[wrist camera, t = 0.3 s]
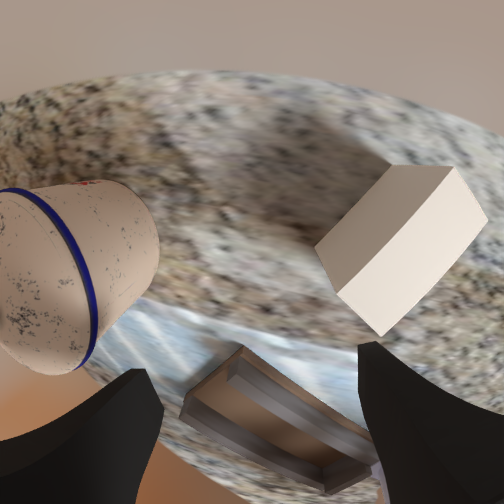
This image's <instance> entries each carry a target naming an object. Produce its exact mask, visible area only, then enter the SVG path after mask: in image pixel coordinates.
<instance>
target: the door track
mask: <svg viewBox="0 0 504 504" xmlns="http://www.w3.org/2000/svg"><path fill="white" fill-rule="evenodd" d="M183 402H184V404H183V407H182V410H181V413H180V415H179V419H180V420H182V421H183V422H185V423H186V424H188V425H189V426H191V427H193V428H194V429H196V430H197V431H199V432H201V433H202V434H204V435H206V436H207V437H209V438H211V439H212V440H214V441H216V442H218V443H219V444H221V445H223V446H225V447H227V448H228V449H230V450H232V451H234V452H236V453H238V454H240V455H242V456H244V457H245V458H247V459H249V460H251V461H253V462H255V463H258V464H260V465H262V466H264V467H266V468H268V469H270V470H272V471H275V472H277V473H279V474H281V475H284V476H286V477H288V478H291V479H293V480H295V481H298V482H300V483H303V484H305V485H308V486H311V487H313V488H316V489H319V490H321V491H323V490H325V493H327V494H330V495H333V494H335V493H337V492H339V491H341V490H344V489H346V488H348V487H350V486H352V485H354V484H356V483H358V482H360V481H361V480H363V479H365V478H367V477H369V476H371V475H373V474H372V470H371V466H372V465H373V464H375V463H377V462H379V461H380V460H379V457H378V454H377V451H376V448H375V446H374V443H373V440H372V437H371V435H370V432H368V431H367V430H365V429H363V428H362V427H360V426H359V425H357V424H355V423H354V422H352V421H351V420H349V419H347V418H346V417H344V416H343V415H341V414H340V413H338V412H337V411H335V410H334V409H332V408H331V407H329V406H328V405H326V404H325V403H323V402H322V401H320V400H319V399H317V398H316V397H314V396H313V395H311V394H310V393H308V392H307V391H306V390H304V389H303V388H301V387H300V386H298V385H297V384H296V383H294V382H293V381H291V380H290V379H289V378H287V377H286V376H284V375H283V374H282V373H280V372H279V371H278V370H276V369H275V368H273V367H272V366H271V365H269V364H268V363H267V362H265V361H264V360H263V359H261V358H260V357H259V356H257V355H256V354H255V353H253V352H252V351H251V350H249V349H248V348H247V347H246V346H243V347H241V348H240V349H239V350H238V351H237V352H236V353H235V354H233V355H232V356H231V357H230V358H229V359H228V360H226V361H225V362H224V363H223V364H222V365H221V366H219V367H218V368H217V369H216V370H215V371H213V372H212V373H211V374H210V375H209V376H207V377H206V378H205V379H204V380H203V381H201V382H200V383H199V384H198V385H197V386H195V387H194V388H193V389H192V390H190V391H189V392H188V393H187V394H186V396H185V398H184V401H183Z"/></svg>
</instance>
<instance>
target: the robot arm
mask: <svg viewBox="0 0 504 504" xmlns="http://www.w3.org/2000/svg"><path fill="white" fill-rule="evenodd" d="M358 394H359V398H360V402H361V407H362V411H363V415H364V418H365V421H366V424H367V427H368V429H369V432H370V435H371V437H372V440H373V443H374V446H375V448H376V451H377V454H378V457H379V460H380V461H379V462H377V463H375V464H373V465H372V466H371V470H372V474H373V475H371V476H370V477H372V478H375V479H377V480H380V484H381V488H382V492H383V496H384V500H385V504H504V415H501V414H497V413H494V412H492V411H489V410H486V409H483V408H480V407H478V406H475V405H473V404H470V403H468V402H466V401H464V400H462V399H460V398H458V397H456V396H454V395H452V394H450V393H448V392H446V391H444V390H443V389H441V388H439V387H438V386H436V385H434V384H433V383H431V382H429V381H428V380H426V379H425V378H423V377H422V376H420V375H419V374H418V373H416V372H415V371H414V370H412V369H411V368H409V367H408V366H407V365H405V364H404V363H403V362H402V361H400V360H399V359H398V358H396V357H395V356H394V355H393V354H391V353H390V352H389V351H388V350H387V349H385V348H384V347H383V346H382V345H380V344H379V343H378V342H376V341H374V342H369V343H365V344H360V345H358ZM164 410H165V409H164V407H163V405H162V403H161V401H160V399H159V397H158V395H157V393H156V391H155V389H154V387H153V385H152V383H151V380H150V378H149V376H148V374H147V372H146V369H130V370H128V371H126V372H125V373H123V374H122V375H120V376H119V377H117V378H116V379H115V380H113V381H112V382H111V383H109V384H108V385H106V386H105V387H104V388H102V389H101V390H100V391H98V392H97V393H95V394H94V395H93V396H91V397H90V398H89V399H87V400H86V401H84V402H83V403H81V404H80V405H78V406H77V407H75V408H74V409H72V410H71V411H69V412H68V413H66V414H64V415H63V416H61V417H59V418H58V419H56V420H54V421H52V422H50V423H48V424H46V425H44V426H42V427H40V428H37V429H35V430H33V431H30V432H28V433H25V434H23V435H20V436H17V437H14V438H11V439H7V440H3V441H0V504H135V502H136V497H137V493H138V489H139V485H140V482H141V479H142V476H143V474H144V471H145V469H146V466H147V464H148V461H149V458H150V456H151V453H152V451H153V448H154V446H155V443H156V441H157V438H158V435H159V432H160V428H161V424H162V420H163V415H164Z"/></svg>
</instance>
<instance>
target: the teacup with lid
mask: <svg viewBox="0 0 504 504" xmlns="http://www.w3.org/2000/svg"><path fill="white" fill-rule="evenodd" d="M159 255H160V247H159V238H158V233H157V229H156V226H155V223H154V220H153V218H152V216H151V214H150V212H149V210H148V209H147V207H146V206H145V204H144V203H143V202H142V200H141V199H140V198H139V197H138V196H137V195H136V194H135V193H134V192H132V191H131V190H130V189H128V188H127V187H125V186H124V185H122V184H120V183H117V182H114V181H110V180H104V179H97V180H89V181H81V182H74V183H67V184H60V185H54V186H48V187H42V188H36V189H30V190H24V189H20V188H7V189H3V190H0V345H1V347H2V348H3V349H4V350H5V351H6V352H7V353H8V354H9V355H10V356H11V357H12V358H14V359H15V360H16V361H18V362H19V363H20V364H22V365H24V366H25V367H27V368H29V369H31V370H33V371H36V372H38V373H42V374H46V375H61V374H65V373H68V372H70V371H73V370H75V369H77V368H79V367H81V366H82V365H83V364H84V363H85V362H86V361H87V360H88V358H89V357H90V355H91V353H92V352H93V349H94V347H95V343H96V342H97V341H98V340H99V339H100V338H101V337H102V336H103V335H104V333H105V332H106V331H107V330H108V329H109V328H110V327H111V326H112V325H113V324H114V323H115V322H116V321H117V320H118V319H119V318H120V316H121V315H122V314H123V313H124V312H125V311H126V310H127V309H128V308H129V307H130V306H131V305H132V304H133V303H134V302H135V301H136V300H137V299H138V298H139V297H140V296H141V295H142V294H143V293H144V292H145V290H146V289H147V288H148V287H149V285H150V284H151V282H152V280H153V278H154V276H155V274H156V271H157V268H158V263H159Z"/></svg>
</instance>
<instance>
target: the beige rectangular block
mask: <svg viewBox="0 0 504 504" xmlns="http://www.w3.org/2000/svg"><path fill="white" fill-rule="evenodd" d="M487 221H488V219H487V217H486V216H485V214H484V212H483V210H482V209H481V207H480V205H479V204H478V202H477V200H476V199H475V197H474V196H473V194H472V192H471V191H470V189H469V188H468V186H467V185H466V183H465V182H464V180H463V179H462V177H461V176H460V174H459V173H458V171H457V170H456V169H455V167H451V166H427V165H391V167H390V168H389V169H388V170H387V171H386V172H385V173H384V174H383V175H382V176H381V177H380V179H379V180H378V181H377V182H376V183H375V184H374V185H373V186H372V187H371V188H370V189H369V190H368V191H367V193H366V194H365V195H364V196H363V197H362V198H361V199H360V200H359V201H358V202H357V203H356V204H355V205H354V206H353V207H352V208H351V209H350V211H349V212H348V213H347V214H346V215H345V216H344V217H343V218H342V219H341V220H340V221H339V222H338V223H337V224H336V225H335V226H334V227H333V228H332V229H331V230H330V231H329V232H328V233H327V234H326V235H325V236H324V237H323V239H322V240H321V241H320V242H319V243H318V244H317V245H316V246H315V247H314V248H315V250H316V252H317V254H318V256H319V258H320V261H321V263H322V265H323V267H324V269H325V271H326V273H327V275H328V277H329V279H330V281H331V283H332V286H333V288H334V290H335V292H336V294H337V295H338V296H339V297H340V298H341V299H342V300H343V301H344V302H345V303H347V304H348V305H349V306H350V307H351V308H352V309H353V310H354V311H355V312H356V313H357V314H358V315H359V316H360V317H361V318H362V319H363V320H364V321H365V322H366V323H367V324H368V325H369V326H370V327H371V328H373V329H374V330H375V331H376V332H377V333H378V334H379V335H380V336H381V337H382V336H383V335H384V334H385V333H386V332H387V331H388V330H389V329H390V328H391V327H393V326H394V325H395V324H396V323H397V322H398V321H399V320H400V319H401V318H402V317H403V316H404V315H405V314H406V313H407V312H408V311H409V310H410V309H411V308H412V307H413V306H414V305H415V304H416V303H417V302H418V301H419V300H420V299H421V298H422V297H423V296H424V295H425V294H426V293H427V292H428V291H429V290H430V289H431V288H432V287H433V286H434V285H435V284H436V283H437V281H438V280H439V279H440V278H441V277H442V276H443V275H444V274H445V273H446V272H447V270H448V269H449V268H450V267H451V266H452V265H453V264H454V262H455V261H456V260H457V259H458V258H459V257H460V255H461V254H462V253H463V252H464V251H465V249H466V248H467V247H468V246H469V244H470V243H471V242H472V241H473V240H474V238H475V237H476V236H477V234H478V233H479V232H480V231H481V229H482V228H483V227H484V225H485V224H486V223H487Z"/></svg>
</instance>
